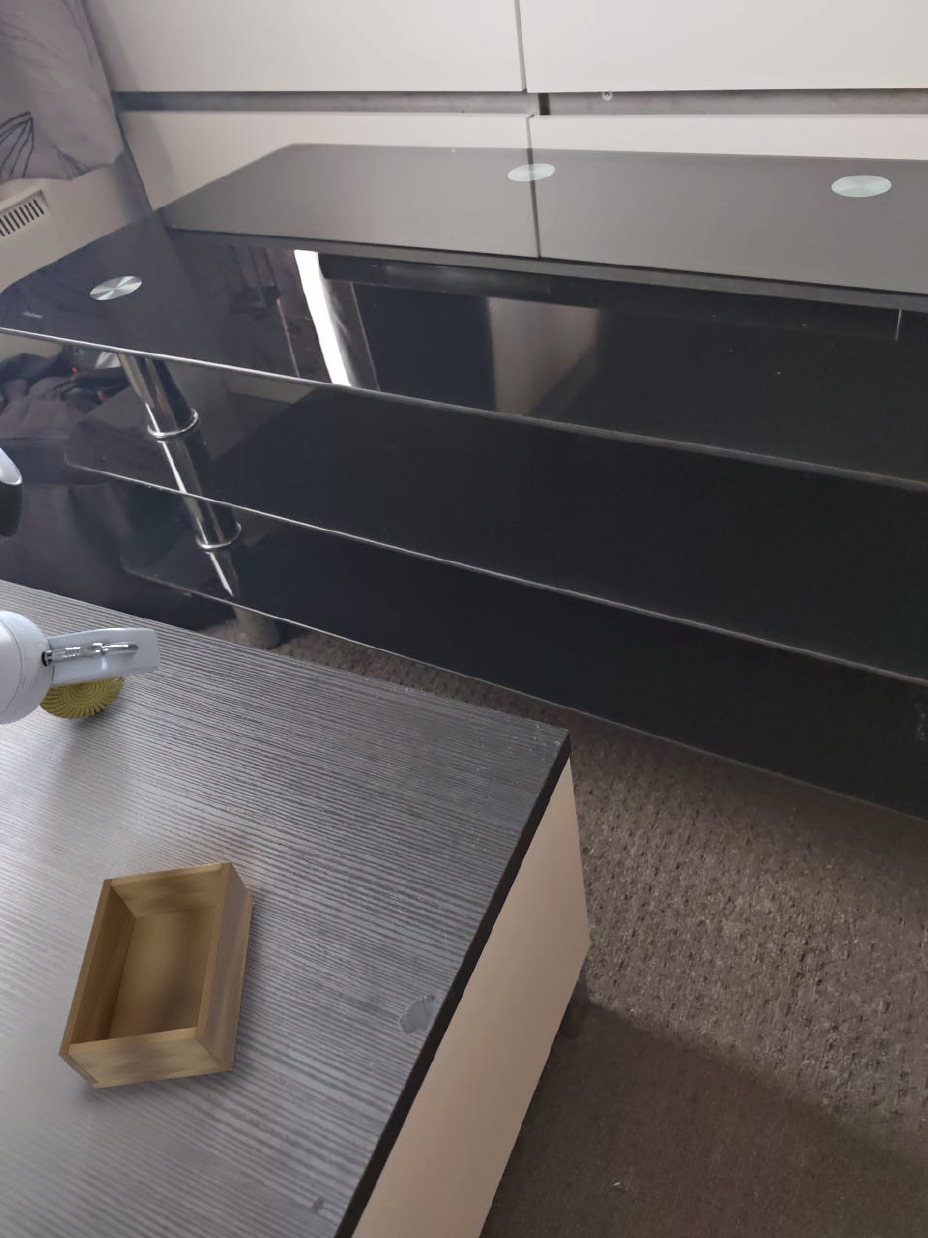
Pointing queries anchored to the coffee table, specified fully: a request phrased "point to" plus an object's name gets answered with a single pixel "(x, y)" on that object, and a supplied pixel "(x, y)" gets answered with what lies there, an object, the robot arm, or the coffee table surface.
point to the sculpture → (81, 698)
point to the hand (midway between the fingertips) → (75, 666)
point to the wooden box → (161, 977)
